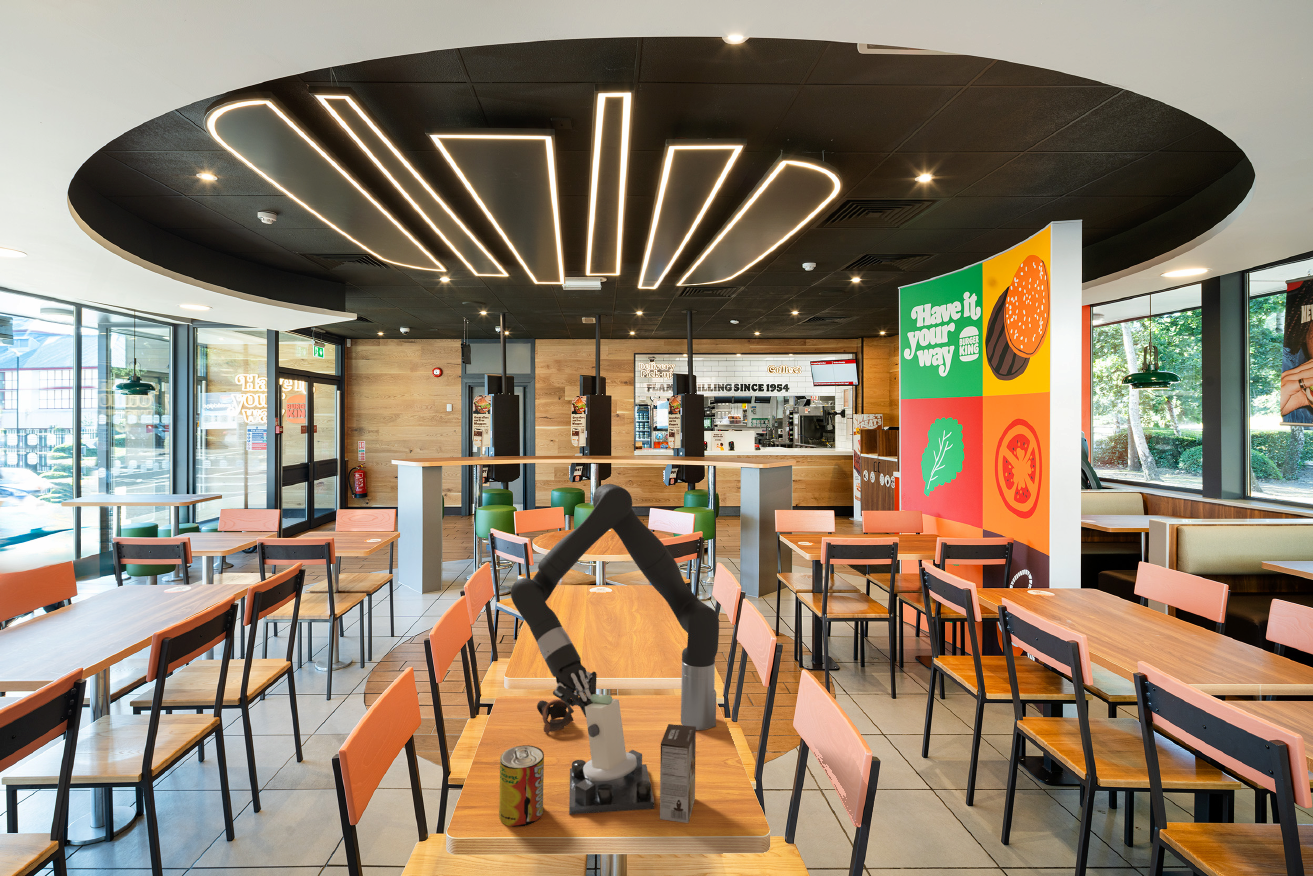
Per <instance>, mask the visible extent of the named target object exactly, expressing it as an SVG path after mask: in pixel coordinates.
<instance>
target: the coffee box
mask: <svg viewBox="0 0 1313 876" xmlns="http://www.w3.org/2000/svg"><path fill="white" fill-rule="evenodd" d="M696 734H697V730H696V727H695V726H685V725H682V724H672V723H668V724H667V727H666V730H665V732H664V734H663V737H662V739H661V742H660V763H659V764H660V768H659V769H660V771H659V773H660V774H659V775H660V776H659V778H660V779H659V781H660V782H659V787H660V788H659V820H664V821H669V822H670V821H671V822H677V823H684V824H685V823H686V824H689V822H690V819H691V815H692V810H693V808H694V807H693V806H694V804H695V799H696V748H697V747H696V746H697V745H696V743H697V742H696V738H697V736H696Z"/></svg>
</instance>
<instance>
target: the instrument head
mask: <svg viewBox="0 0 1313 876" xmlns="http://www.w3.org/2000/svg"><path fill="white" fill-rule="evenodd" d="M591 702H593V703H592V704H590V705H588V706H586V707H585V712H586V717H585V719H586V726H587V735H588V742H589V750H590V757H591V759H590V760H588V761H586V764H585V765H584V767H583V772H584V777H585V778H587V779H589V781H590V782H592V783H595V782H597V781H608V780H613V779H617V778H620V777H623V776H625V775H627V774H629V773H631V772H632V771H633V770H634V769H635V768H636V766H637V760H636V756H635V755H634V754H631V753H628V752H629V751H628V752H627V750H626V744H625V743H626V742H625V735H624V728H623V721H622V720H623V719H622V715H621V706H620V699H618V698H613V697H612V695H609V694H603V693H600V694H598V693H597V694H593V695H592V696H591Z"/></svg>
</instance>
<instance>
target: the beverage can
mask: <svg viewBox="0 0 1313 876" xmlns="http://www.w3.org/2000/svg"><path fill="white" fill-rule="evenodd" d="M544 766H545V754H544V751H543V750H542V749H541V748H539V747H538V746H534V745H530V744H528V745H524V744H523V745H516V746H513V747H511V748H508V749H506V750H505V751H503V753H501V754H500V757H499V805H498V812H499V813H498V818H499V821H500V822H501V823H502V824H503V825H505V826H508V827H512V828H521V827H522V828H523V827H528V826H530V825H532V824H535V823H536V822H538V821H539V820H540V819H541V818H542V816H543V813H544V781H545V780H544V778H545V777H544V776H545V775H544V774H545V773H544V772H545V771H544V770H545V767H544Z"/></svg>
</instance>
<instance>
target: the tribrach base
mask: <svg viewBox="0 0 1313 876" xmlns="http://www.w3.org/2000/svg"><path fill="white" fill-rule="evenodd" d="M628 753H631V754H634V755H635V756H636V760H637V766H636V768H635V769H634V770H633V771H632V772H631V773H629V774H627V775H625V776H623V777H620V778H617V779H613V780H608V781H597V782H595V783H592V782H590V781H589V779H587V778H585V777H584V772H583V767H584V765H585V764H586V763H587V761H585V760H583V759H576V760H573V761H572V762H571V768H569V798H568V799H569V800H568V801H569V802H568V803H569V807H568V808H569V809H568V813H569V814H568V815H579V814H580V815H581V814H582V815H583V814H594V813H595V814H598V813H611V812H624V811H625V812H627V811H642V810H643V811H644V810H655V799H654V794H653V789H652V782H651V780H650V776H649V771H648V767H647V764H645V763H644V764H643V753H642V752H639V751H636V750H634V749H631V750H629V751H628Z"/></svg>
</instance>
